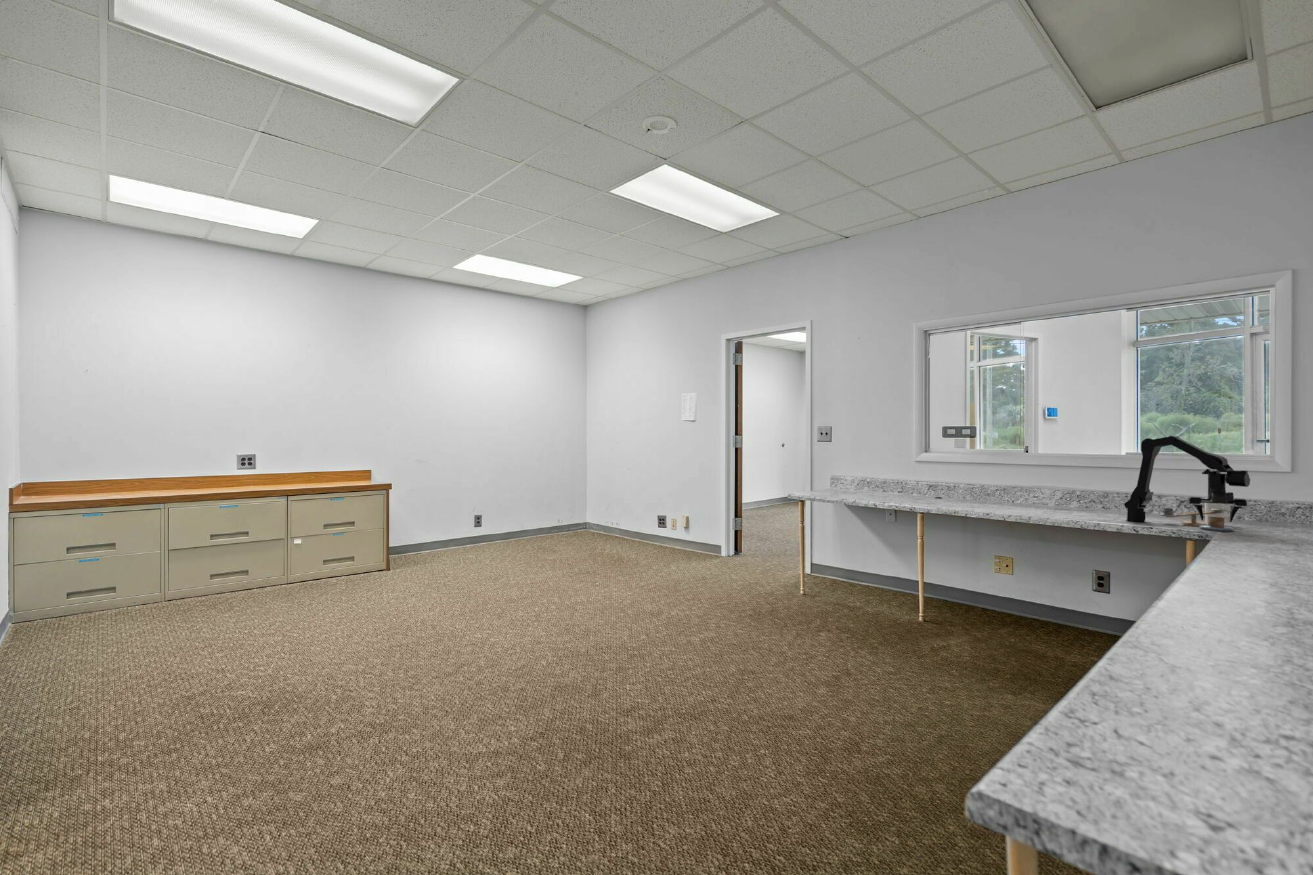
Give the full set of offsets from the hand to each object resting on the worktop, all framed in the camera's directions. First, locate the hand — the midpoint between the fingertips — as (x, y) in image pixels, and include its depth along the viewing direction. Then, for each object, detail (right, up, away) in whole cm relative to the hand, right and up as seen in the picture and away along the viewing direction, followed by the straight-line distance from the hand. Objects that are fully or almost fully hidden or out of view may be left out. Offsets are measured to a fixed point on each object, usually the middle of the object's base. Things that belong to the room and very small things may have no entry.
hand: (1216, 521), depth 273 cm
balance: (+2, -4, +13) cm, 14 cm away
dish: (0, -4, 0) cm, 4 cm away
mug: (+14, -4, +15) cm, 21 cm away
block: (0, -3, 0) cm, 2 cm away
